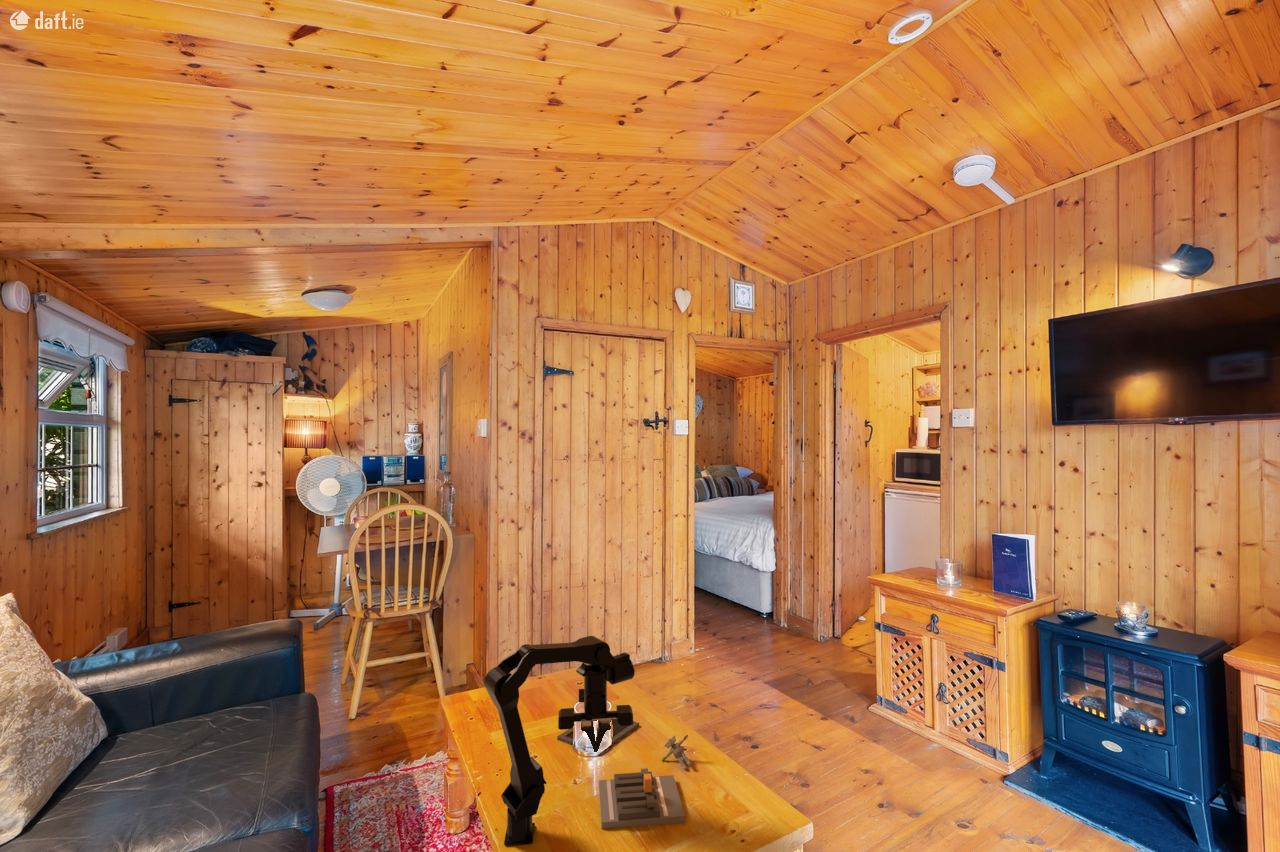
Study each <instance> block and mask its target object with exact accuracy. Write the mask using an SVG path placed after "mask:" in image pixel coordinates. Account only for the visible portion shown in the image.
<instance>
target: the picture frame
mask: <svg viewBox="0 0 1280 852" xmlns="http://www.w3.org/2000/svg"><path fill="white" fill-rule="evenodd" d="M612 725H613V737H612V744H613V745H615V744H616V743H618V742H619V741H621V740H622V739H623V738H625V737H626V736H627V734H628V733H629V734H630V733H632V732H633V731H635V730H636V729H637V728H639V727H640V722H637V721H634V720H633V725H629V726H621V725H620V724H618V719H613V720H612ZM638 726H639V727H638ZM635 728H636V729H635ZM634 729H635V730H634ZM632 730H633V731H632ZM631 731H632V732H631ZM629 734H628V735H629ZM625 735H626V736H625ZM624 736H625V737H624ZM621 738H622V739H621ZM556 740H558V741H560V742H563V743H564V744H567V745H570V746H572V745H573V727H572V728H571V729H566V730H565V731H564V732H562V733H561V734H559V735H557V738H556ZM618 740H619V741H618ZM617 741H618V742H617ZM615 742H616V743H615ZM614 743H615V744H614Z"/></svg>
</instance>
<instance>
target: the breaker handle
mask: <svg viewBox="0 0 1280 852" xmlns="http://www.w3.org/2000/svg"><path fill="white" fill-rule="evenodd" d="M644 791H645V793H646V792H652V778H651V774H644Z"/></svg>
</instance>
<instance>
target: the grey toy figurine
mask: <svg viewBox="0 0 1280 852" xmlns="http://www.w3.org/2000/svg"><path fill="white" fill-rule="evenodd" d="M688 737H689V735H688V734H686V735H685V736H683V739H681V740H680V741H679V740H678V742H676V741H677V740H676V735H673V736H672V737H671V738H668V740H667V742H666V743H665V744H664V747H666V748H667V749H669V748H670V750H669V751H668V752H667V754H666V755H665V756H663V758H662V759H661V761H662V762H664V761H666V760H667V759H668V758H669V756H671V755H673V757H674V758H675V759H676V760H677V761H678V762H679V763H680V765H681V767H682V768H683V770H684V771H686V770H688V766H690V765H691V764H692V762H691V760H689V758H688V757H687V755H686V753H685V751H684V749H683V747H681V745H682V744H683V743H684V742H685V741H686V740H687V738H688ZM684 761H685V762H686V764H687V765H688V766H687V765H686V764H685V762H684Z"/></svg>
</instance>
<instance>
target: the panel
mask: <svg viewBox="0 0 1280 852" xmlns="http://www.w3.org/2000/svg"><path fill="white" fill-rule="evenodd" d="M652 772H653V771H649V768H648V767H645V768H641V769H640V772H628V773H627V772H626V773H614V774H613V778H610V779H599V780H598V791H599V809H600V821H601V822H600V823H601V824H600V825H601V830H604V829H605V830H606V829H618V828H630V827H631V828H632V827H643V826H644V827H645V826H654V825H655V826H656V825H667V824H679V823H680V824H681V823H686V815H685V811H684V808H683V803H682V801H681V797H680V793H679V789H678V786H677V783H676V779H675V776H674V774H669V775H668V774H667V775H655V776H653V774H652ZM644 774H651V778H652V792H646V793H645V791H644Z"/></svg>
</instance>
